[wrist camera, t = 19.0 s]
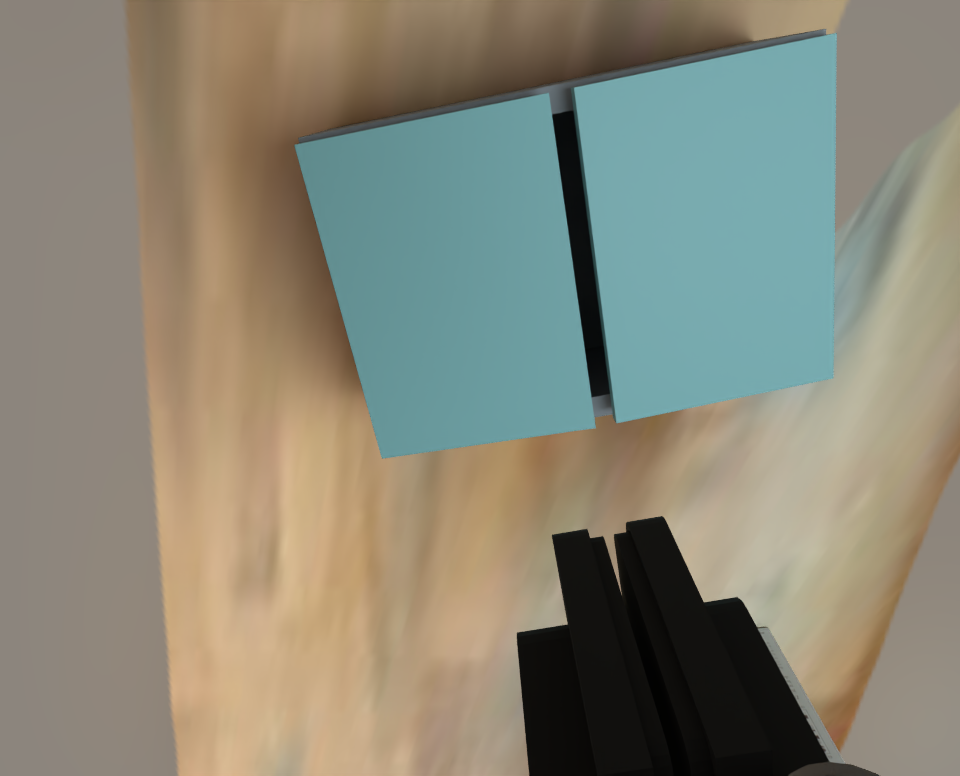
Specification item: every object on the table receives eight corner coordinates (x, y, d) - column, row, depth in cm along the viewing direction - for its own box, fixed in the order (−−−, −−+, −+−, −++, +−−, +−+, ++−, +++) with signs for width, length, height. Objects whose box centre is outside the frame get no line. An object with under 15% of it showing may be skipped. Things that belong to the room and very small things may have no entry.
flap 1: (298, 143, 27) (294, 145, 26) (548, 92, 26) (548, 93, 25) (384, 452, 32) (381, 458, 31) (594, 421, 31) (595, 427, 30)
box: (330, 128, 33) (297, 138, 27) (753, 41, 32) (826, 29, 26) (399, 393, 39) (385, 454, 32) (763, 327, 37) (824, 376, 31)
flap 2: (570, 87, 26) (574, 87, 25) (827, 34, 26) (836, 33, 25) (613, 417, 31) (616, 423, 30) (825, 373, 31) (833, 378, 30)
